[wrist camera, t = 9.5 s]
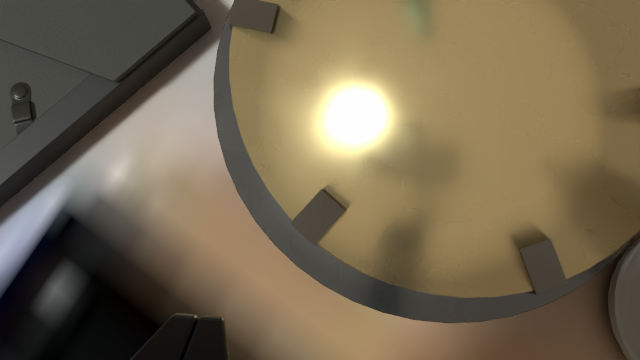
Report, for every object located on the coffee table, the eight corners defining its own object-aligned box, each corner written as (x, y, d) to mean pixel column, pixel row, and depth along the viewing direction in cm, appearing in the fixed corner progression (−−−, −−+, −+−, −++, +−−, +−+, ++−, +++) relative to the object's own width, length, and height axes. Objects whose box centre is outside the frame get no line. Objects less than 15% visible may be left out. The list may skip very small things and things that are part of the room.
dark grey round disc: (474, 409, 20) (496, 431, 17) (130, 125, 22) (104, 106, 19) (715, 76, 22) (768, 51, 19) (383, -159, 24) (391, -210, 21)
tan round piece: (180, 217, 18) (36, 170, 9) (308, -144, 21) (298, -481, 11) (603, 351, 18) (921, 449, 8) (688, -39, 20) (1014, -306, 11)
